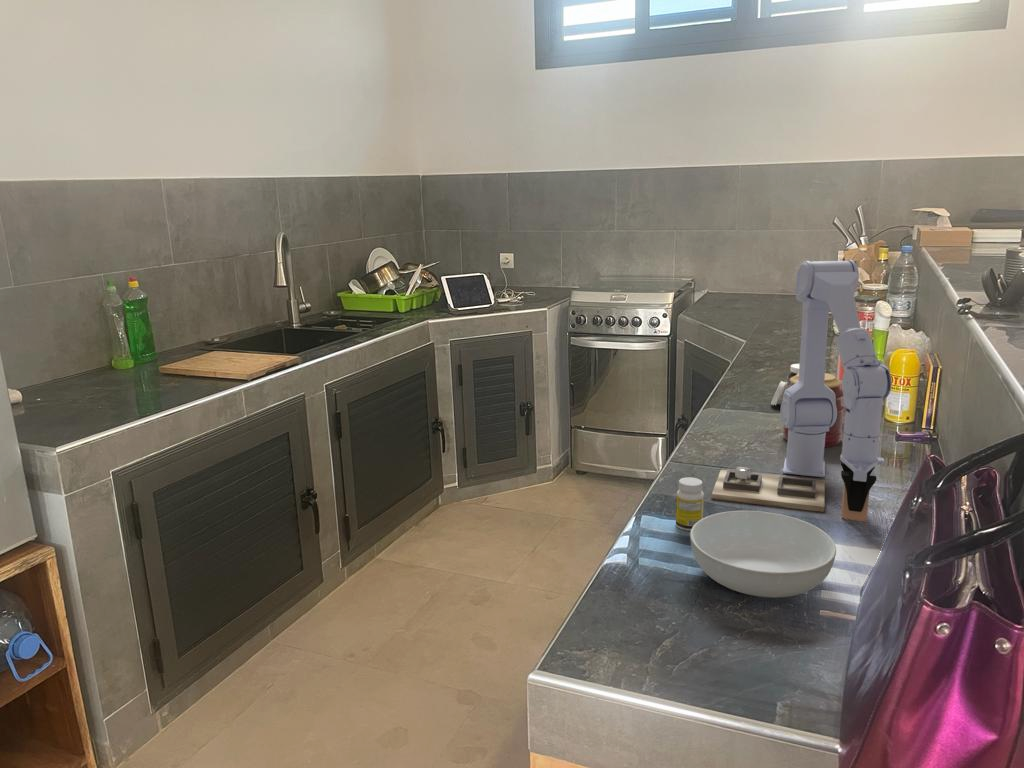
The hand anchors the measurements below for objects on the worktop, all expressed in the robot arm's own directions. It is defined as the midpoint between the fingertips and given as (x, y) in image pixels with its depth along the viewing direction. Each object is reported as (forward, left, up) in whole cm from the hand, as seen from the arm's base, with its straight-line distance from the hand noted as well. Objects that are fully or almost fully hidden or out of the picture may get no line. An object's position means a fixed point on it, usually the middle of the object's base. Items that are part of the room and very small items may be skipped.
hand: (854, 505), depth 140 cm
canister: (-44, -8, -2) cm, 45 cm away
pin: (-7, -20, -2) cm, 21 cm away
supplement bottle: (+14, -27, -2) cm, 30 cm away
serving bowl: (+30, -14, -2) cm, 33 cm away
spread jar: (-71, -13, -2) cm, 72 cm away
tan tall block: (0, 0, -2) cm, 2 cm away
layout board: (-7, -15, -2) cm, 17 cm away
